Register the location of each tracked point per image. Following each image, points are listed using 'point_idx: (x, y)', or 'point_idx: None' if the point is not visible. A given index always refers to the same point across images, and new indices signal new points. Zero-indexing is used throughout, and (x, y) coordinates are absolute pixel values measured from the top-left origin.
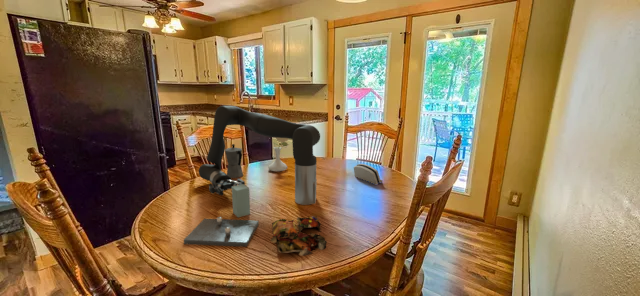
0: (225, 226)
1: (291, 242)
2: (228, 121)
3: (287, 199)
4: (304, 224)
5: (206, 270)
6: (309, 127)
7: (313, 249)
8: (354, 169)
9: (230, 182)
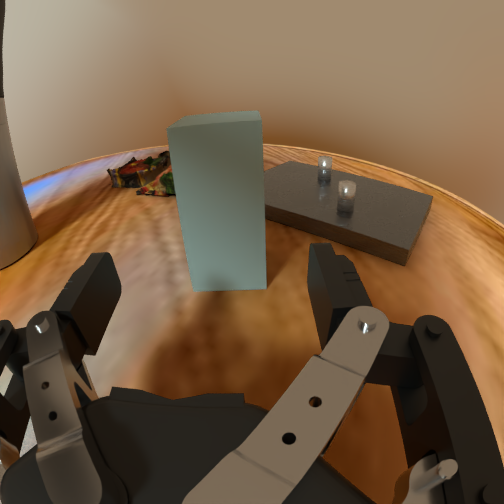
0: (327, 197)
1: None
2: None
3: (11, 281)
4: (148, 165)
5: (366, 163)
6: None
7: None
8: None
9: (88, 438)
